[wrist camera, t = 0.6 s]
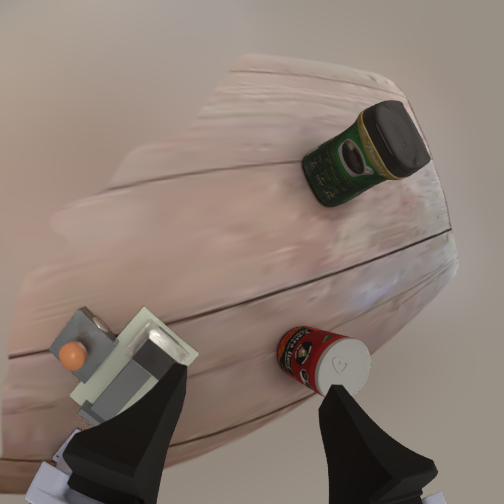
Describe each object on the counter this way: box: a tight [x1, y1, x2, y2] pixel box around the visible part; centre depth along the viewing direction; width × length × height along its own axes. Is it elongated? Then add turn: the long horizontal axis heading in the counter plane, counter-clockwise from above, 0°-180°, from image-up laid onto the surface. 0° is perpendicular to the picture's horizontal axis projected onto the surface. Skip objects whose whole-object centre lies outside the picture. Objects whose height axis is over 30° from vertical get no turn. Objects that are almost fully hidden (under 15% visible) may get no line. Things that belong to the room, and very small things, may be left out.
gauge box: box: [49, 306, 119, 384], centre depth 27 cm, size 7×6×3 cm
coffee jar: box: [303, 100, 430, 206], centre depth 33 cm, size 10×8×19 cm
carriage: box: [123, 320, 190, 381], centre depth 28 cm, size 5×6×6 cm
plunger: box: [59, 341, 87, 371], centre depth 23 cm, size 3×3×2 cm
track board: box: [70, 306, 199, 426], centre depth 28 cm, size 17×9×4 cm, turn 138°
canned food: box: [278, 326, 371, 397], centre depth 33 cm, size 8×8×11 cm
